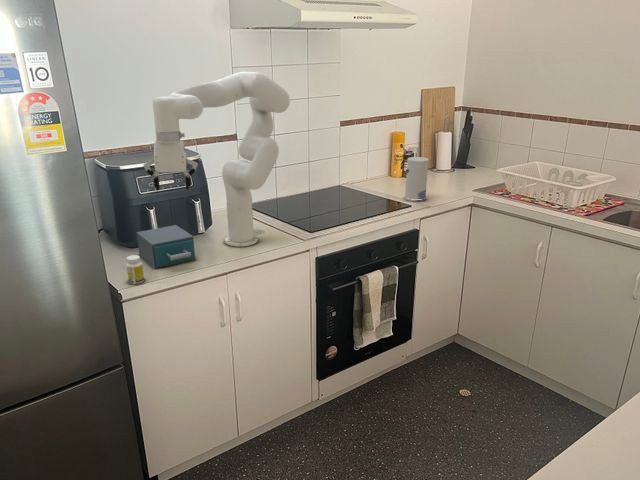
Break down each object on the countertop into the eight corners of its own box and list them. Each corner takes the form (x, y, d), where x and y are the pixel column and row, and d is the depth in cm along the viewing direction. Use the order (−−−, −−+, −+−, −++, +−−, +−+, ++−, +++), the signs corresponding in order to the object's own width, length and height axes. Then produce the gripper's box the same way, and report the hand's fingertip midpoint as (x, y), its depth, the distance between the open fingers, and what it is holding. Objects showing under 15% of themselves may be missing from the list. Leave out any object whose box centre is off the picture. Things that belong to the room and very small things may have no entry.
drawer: (201, 263, 190) (199, 244, 188) (163, 271, 183) (160, 252, 180) (178, 246, 205) (177, 229, 203) (143, 254, 198) (140, 236, 195)
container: (404, 196, 277) (407, 156, 270) (424, 197, 276) (428, 156, 268) (404, 201, 268) (407, 160, 260) (425, 202, 267) (429, 161, 259)
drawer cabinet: (195, 259, 196) (193, 236, 192) (154, 268, 188) (151, 244, 185) (178, 247, 208) (176, 224, 204) (139, 255, 200) (136, 232, 196)
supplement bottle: (145, 278, 180) (142, 254, 177) (142, 284, 176) (138, 259, 173) (131, 278, 180) (127, 254, 177) (127, 284, 176) (123, 260, 173)
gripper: (196, 134, 182) (199, 185, 189) (142, 135, 180) (147, 187, 186) (195, 138, 175) (198, 191, 182) (138, 138, 173) (144, 192, 179)
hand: (173, 188), depth 184 cm, fingers open, 9 cm apart
